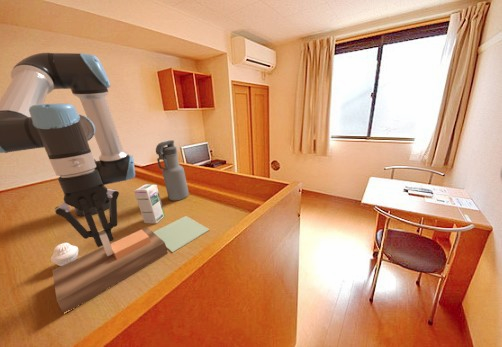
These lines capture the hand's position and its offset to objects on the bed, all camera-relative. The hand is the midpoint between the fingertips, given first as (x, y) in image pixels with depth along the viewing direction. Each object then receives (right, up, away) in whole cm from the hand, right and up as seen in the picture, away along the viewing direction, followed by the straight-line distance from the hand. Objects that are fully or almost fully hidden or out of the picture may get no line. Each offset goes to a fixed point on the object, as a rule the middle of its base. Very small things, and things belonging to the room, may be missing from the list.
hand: (109, 252), depth 54 cm
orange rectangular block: (+4, 0, +4) cm, 5 cm away
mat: (+14, +1, +15) cm, 21 cm away
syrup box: (0, +3, +25) cm, 26 cm away
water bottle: (+3, +10, +45) cm, 46 cm away
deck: (+1, -5, +2) cm, 5 cm away
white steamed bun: (-16, -5, +5) cm, 17 cm away
